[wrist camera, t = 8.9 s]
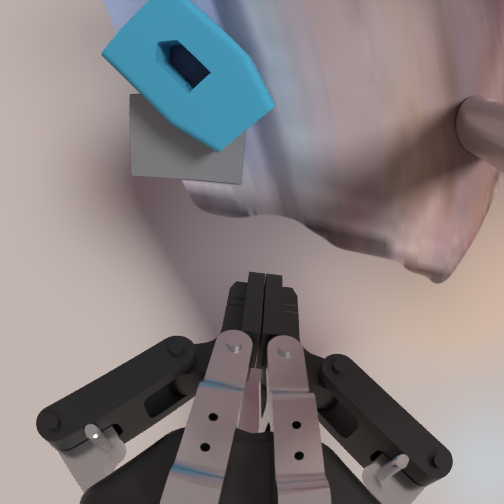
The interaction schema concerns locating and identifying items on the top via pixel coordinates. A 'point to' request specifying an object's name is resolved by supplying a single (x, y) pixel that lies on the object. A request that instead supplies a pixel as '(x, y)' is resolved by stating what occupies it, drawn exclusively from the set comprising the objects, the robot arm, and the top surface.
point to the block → (176, 85)
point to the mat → (177, 149)
